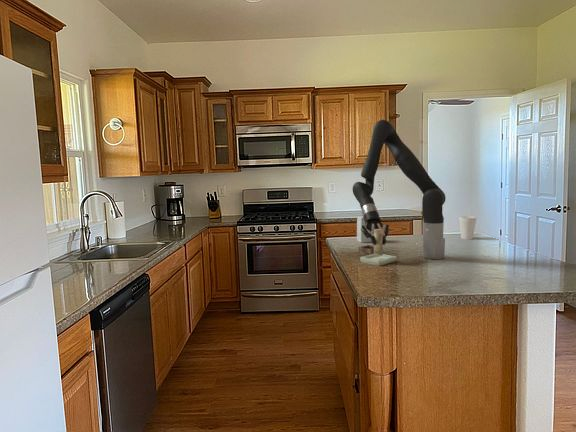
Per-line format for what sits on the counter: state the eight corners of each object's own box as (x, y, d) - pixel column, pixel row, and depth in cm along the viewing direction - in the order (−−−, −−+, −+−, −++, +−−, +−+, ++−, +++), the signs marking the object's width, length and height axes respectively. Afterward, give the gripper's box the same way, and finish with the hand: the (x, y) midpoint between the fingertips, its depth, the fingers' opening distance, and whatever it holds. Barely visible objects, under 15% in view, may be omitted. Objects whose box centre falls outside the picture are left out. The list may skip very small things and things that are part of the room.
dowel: (380, 253, 193) (381, 228, 191) (383, 255, 189) (384, 230, 187) (372, 254, 192) (372, 229, 191) (375, 255, 188) (375, 230, 187)
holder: (381, 253, 207) (381, 247, 206) (371, 256, 201) (371, 249, 201) (368, 251, 213) (369, 245, 212) (358, 253, 208) (358, 247, 207)
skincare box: (361, 242, 237) (361, 217, 235) (356, 241, 243) (356, 216, 241) (373, 241, 240) (374, 216, 238) (368, 240, 245) (369, 215, 244)
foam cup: (460, 239, 241) (461, 218, 239) (456, 237, 250) (457, 216, 248) (477, 239, 239) (478, 218, 238) (473, 237, 248) (473, 216, 247)
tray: (396, 261, 191) (396, 256, 190) (379, 265, 183) (379, 261, 182) (377, 257, 199) (377, 252, 199) (360, 261, 191) (360, 257, 191)
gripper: (358, 210, 194) (367, 240, 184) (386, 209, 196) (396, 238, 186) (354, 220, 200) (363, 249, 190) (382, 219, 202) (391, 247, 192)
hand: (379, 243), depth 188 cm, fingers closed on dowel, 4 cm apart
